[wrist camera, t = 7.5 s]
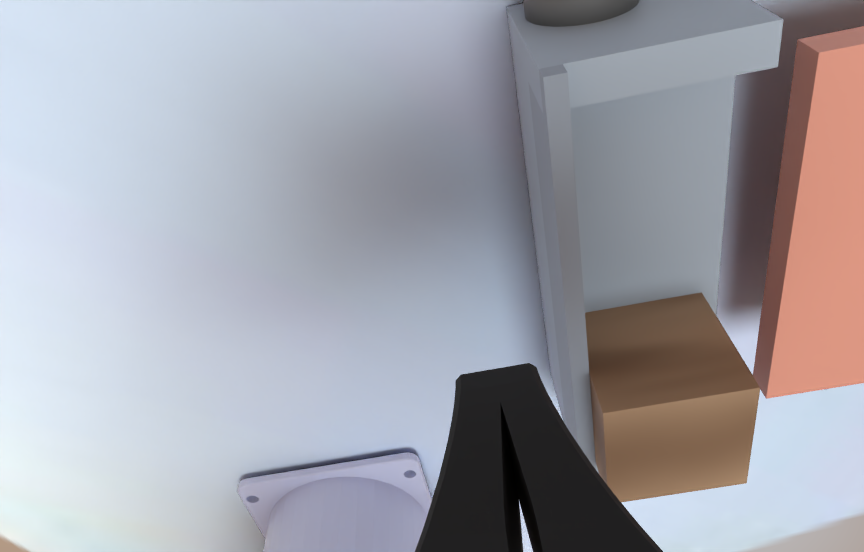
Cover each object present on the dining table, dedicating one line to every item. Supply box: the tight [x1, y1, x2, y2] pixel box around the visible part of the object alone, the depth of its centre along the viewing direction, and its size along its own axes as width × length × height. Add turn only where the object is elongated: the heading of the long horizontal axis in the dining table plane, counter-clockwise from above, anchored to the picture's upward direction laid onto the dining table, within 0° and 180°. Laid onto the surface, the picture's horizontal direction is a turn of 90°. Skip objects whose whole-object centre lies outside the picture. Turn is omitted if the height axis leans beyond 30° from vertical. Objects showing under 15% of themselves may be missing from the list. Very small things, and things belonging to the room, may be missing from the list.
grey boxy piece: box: [506, 0, 784, 473], centre depth 20 cm, size 16×5×6 cm, turn 11°
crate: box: [585, 292, 760, 502], centre depth 20 cm, size 4×4×4 cm
